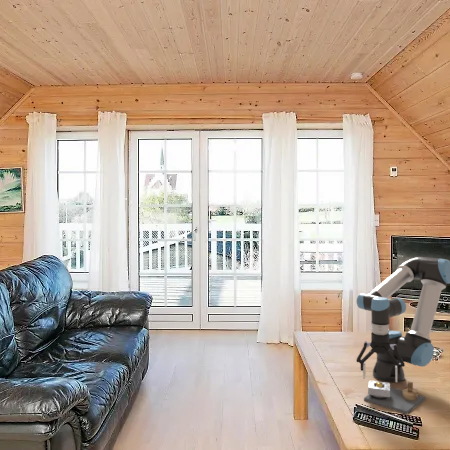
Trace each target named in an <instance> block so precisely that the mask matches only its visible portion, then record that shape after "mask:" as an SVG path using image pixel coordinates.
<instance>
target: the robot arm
mask: <svg viewBox="0 0 450 450" xmlns="http://www.w3.org/2000/svg"><path fill="white" fill-rule="evenodd" d="M413 280H420V282H421V284H422V288H421V291H420V295H419V298H418V303H417V306H416V310H415V312H414V317H413V320H412V324H411V326H410V327H411V328H410V330H409V331H407V332H406V333H405V335H404V336H403V333H402V331H399V330H390V318H392V317H396V316H400V315H402V314H404V313H405V312H406V310H407V304H406V302H405V301H404V300H403V298H400V297H394V298H390V297H391V296H392V295H393V294H395V293H396V292H397V291H399V289H401V287H403V286H404V285H405V284H407V283H411V282H412V281H413ZM447 284H448V285H449V284H450V260H449V259H445V258H437V257H427V256H424V257H423V256H415V257H414V258H413V257H412V258H410V259H407V260H406V261H404V262H402V263H401V264H399V265H398V266H397V267H396V270H395V271H394V272H393V273H392V274H391V275H389V276H388V277H387V278H385V279H384V280H383V281H382V282H381V283H379V284H378V285H377V286H375V287H374V288H373V289H372V290H371V291H369V292H368V293H359V294H358V296H356V297H357V298H356V306H357V307H358V308H359V309H361V310H364V311H369V312H371V315H370V316H371V321H370V322H371V326H370V327H371V329H370V330H371V338H370V339H371V340H370V341H371V342H368V341H366V340H365V341H364V342H363V347H362V349H361V350H360V352H359V354H358V356H357V357H356V359H355V360H356V363H359V364H360V371H362V373H363V375H362V378H363V379H364V380H365V379H366V361H367V360H368V359H370V357H371V356H373V354H376V361H375V364H374V367H373V369H372V376H373V378H375V379H377V380H379V381H380V382H385V383H401V382H403V381H405V378H406V376H405V372H404V368H403V367H405V366H406V364H405V363H407V364H411V365H413V366H416V367H417V366H418V367H425V366H427V365H429V364H430V363H431V362H432V360H433V357H434V353H435V351H434V350H435V348H434V347H435V346H434V345H433V344H432V339H431V338H430V335H431V330H432V326H433V324H434V319H435V315H436V312H437V309H438V305H439V300H440V297H441V293H442V291H443V290H445V289H446V288H447ZM369 347H370V348H371V349H370V350H369V351H368V352H367V353H366V354H365V352H366V350H367V348H369ZM364 354H365V355H364ZM363 355H364V356H363Z"/></svg>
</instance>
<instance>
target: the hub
mask: <svg viewBox="0 0 450 450" xmlns="http://www.w3.org/2000/svg"><path fill="white" fill-rule="evenodd" d="M381 382H382V381H378V382H376V387H382V388H383V383H381ZM371 397H373V398H375V399H379V400H384V399H387V397H383V396H376V395H371Z"/></svg>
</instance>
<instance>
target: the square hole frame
mask: <svg viewBox="0 0 450 450" xmlns="http://www.w3.org/2000/svg"><path fill="white" fill-rule="evenodd" d="M376 382H379V381H376V380H369V381H368V386H367V388H368V389H367V390H368V392H367V394H368V395H376V396H383V397H390V387H391V382H386V381H380V382H381V383H383V388H382V387H376Z"/></svg>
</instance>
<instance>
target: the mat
mask: <svg viewBox="0 0 450 450" xmlns="http://www.w3.org/2000/svg"><path fill="white" fill-rule="evenodd" d="M363 400H364V401H365V402H368V403H371V404H373V405H377V406H380V407H383V408H386V409H389V410H393V411H396V412H399V413H402V414H404V415H408V414H409V413H410V412H411V411H413V410H414V409H416V408H417V407H418V406H419V405H420V404H422V403H423V402H424V401H426V396H423V395H419V394H417V400H416V401H409V400H405V399H404V398H403V389H399V388H395V387H392V386H390V397H387V399H384V400H379V399H375V398H373V397H371V395H369V394H368V395H366V396H365V397H364V398H363Z"/></svg>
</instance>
